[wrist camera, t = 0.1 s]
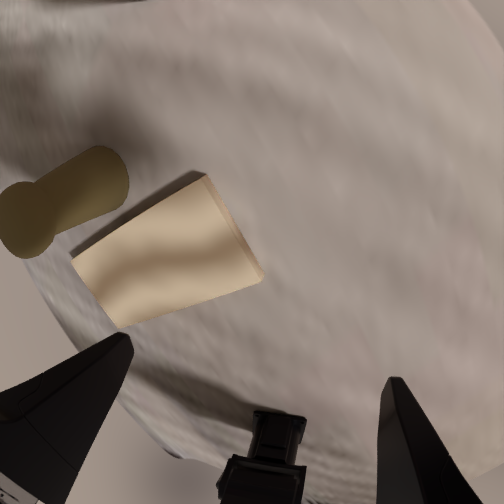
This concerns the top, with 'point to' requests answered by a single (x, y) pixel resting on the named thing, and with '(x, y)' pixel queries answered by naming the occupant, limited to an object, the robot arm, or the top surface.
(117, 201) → the cork
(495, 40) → the top surface
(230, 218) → the birch board
